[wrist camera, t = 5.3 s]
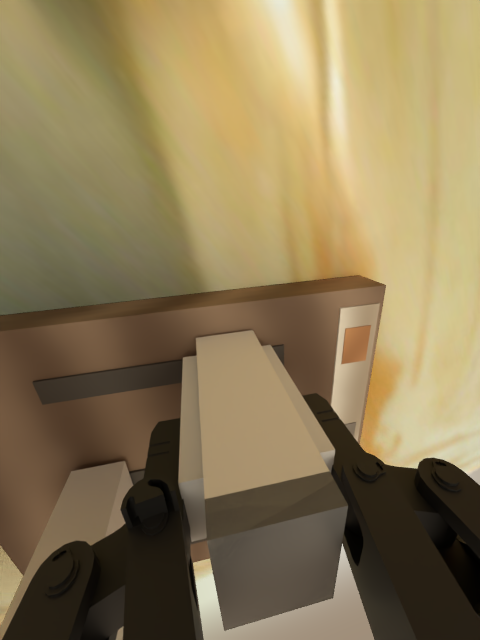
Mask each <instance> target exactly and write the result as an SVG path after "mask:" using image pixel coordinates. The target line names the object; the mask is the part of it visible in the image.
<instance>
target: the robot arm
mask: <svg viewBox="0 0 480 640" xmlns="http://www.w3.org/2000/svg"><path fill="white" fill-rule="evenodd" d="M262 348H263V350H264V352H265V353H266V355H267V357H268V359H269V361H270V363H271V364H272V366H273V368H274V370H275V372H276V374H277V376H278V377H279V379H280V381H281V383H282V385H283V387H284V388H285V390H286V392H287V394H288V396H289V398H290V399H291V401H292V403H293V405H294V407H295V409H296V410H297V412H298V414H299V416H300V418H301V420H302V421H303V423H304V425H305V427H306V429H307V431H308V432H309V434H310V436H311V438H312V440H313V442H314V443H315V445H316V447H317V449H318V451H319V453H320V455H321V456H322V458H323V460H324V462H325V464H326V466H327V467H328V469H329V471H330V473H331V475H332V477H333V478H334V480H335V482H336V484H337V486H338V488H339V489H340V491H341V493H342V495H343V497H344V499H345V500H346V502H347V504H348V510H347V516H346V522H345V528H344V534H343V540H342V543H343V546H344V549H345V552H346V555H347V558H348V561H349V564H350V567H351V570H352V573H353V576H354V579H355V582H356V585H357V588H358V591H359V594H360V597H361V600H362V603H363V606H364V609H365V612H366V615H367V618H368V621H369V624H370V627H371V630H372V633H373V636H374V639H375V640H480V485H478V484H477V483H476V482H475V481H474V480H473V479H472V478H470V477H469V476H468V475H467V474H466V473H465V472H463V471H462V470H461V469H459V468H458V467H456V466H455V465H453V464H451V463H449V462H447V461H444V460H441V459H436V458H426V459H423V460H422V461H421V462H419V466H418V469H414V468H404V467H395V466H390V465H386V464H384V463H383V462H382V461H381V460H380V459H378V458H377V457H375V456H374V455H371V454H369V453H366V452H365V451H364V450H363V449H362V447H361V446H360V445H359V443H358V442H357V441H356V439H355V438H354V437H353V435H352V434H351V432H350V431H349V430H348V428H347V427H346V426H345V424H344V423H343V422H342V420H341V419H339V416H338V415H337V413H336V412H335V411H334V409H333V408H332V407H331V405H330V404H329V403H328V401H327V400H326V399H324V398H323V397H321V396H320V395H319V394H317V393H313V394H307V395H301V393H300V392H299V390H298V389H297V387H296V385H295V384H294V382H293V380H292V379H291V377H290V376H289V374H288V372H287V371H286V369H285V368H284V366H283V364H282V363H281V361H280V359H279V358H278V356H277V355H276V353H275V351H274V350H273V348H272V347H271V345H266V346H262ZM120 510H121V513H122V515H123V518H124V521H125V524H124V525H123V526H122V527H121V528H119V529H118V530H117V531H115V532H114V533H112V534H110V535H108V536H107V537H105V538H103V539H101V540H100V541H98V542H96V543H94V544H93V545H91V546H90V545H89V544H88V543H87V542H86V541H77V540H76V541H73V542H70V543H67V544H64V545H63V546H61V547H60V548H59V549H57V550H56V551H54V552H53V553H52V554H51V555H50V556H49V557H48V558H47V559H46V560H45V561H44V562H43V563H42V564H41V565H40V567H39V568H38V570H37V572H36V573H35V575H34V576H33V578H32V579H31V582H30V584H29V586H28V588H27V590H26V592H25V594H24V596H23V598H22V600H21V602H20V604H19V606H18V608H17V610H16V612H15V614H14V616H13V618H12V620H11V622H10V624H9V626H8V628H7V630H6V632H5V634H4V636H3V638H2V640H116V637H117V633H118V630H119V629H120V628H122V627H123V640H204V639H203V632H202V625H201V618H200V611H199V604H198V597H197V590H196V583H195V576H194V569H193V562H192V558H191V541H192V542H193V541H197V540H201V539H206V538H207V535H206V516H205V498H204V480H203V461H202V443H201V424H200V406H199V387H198V369H197V355H196V356H189V357H183V368H182V396H181V418H176V419H171V420H165V421H160V422H158V423H157V424H156V426H155V428H154V429H153V431H152V432H151V437H150V442H149V448H148V454H147V460H146V466H145V472H144V478H143V479H141V480H139V481H138V482H137V483H136V484H134V485H133V486H132V487H131V488H130V489H129V491H128V492H127V494H126V495H125V497H124V498H123V501H122V505H121V509H120ZM190 536H191V540H190Z"/></svg>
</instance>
